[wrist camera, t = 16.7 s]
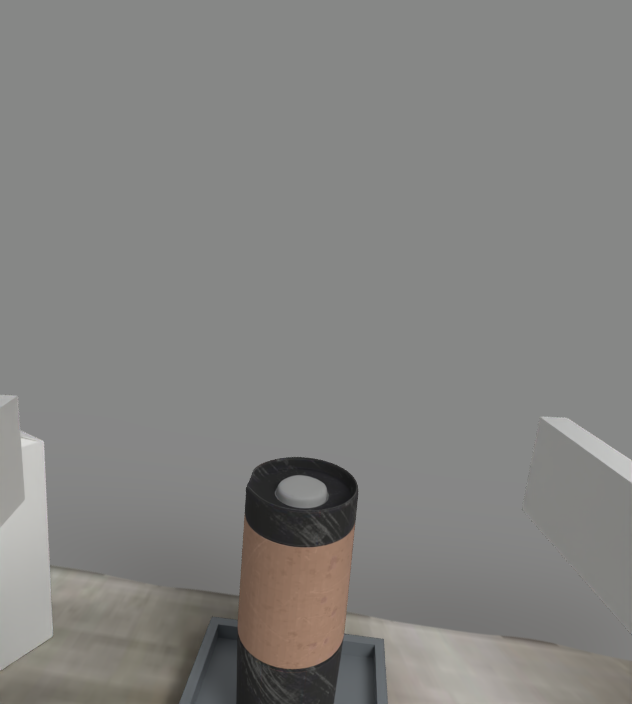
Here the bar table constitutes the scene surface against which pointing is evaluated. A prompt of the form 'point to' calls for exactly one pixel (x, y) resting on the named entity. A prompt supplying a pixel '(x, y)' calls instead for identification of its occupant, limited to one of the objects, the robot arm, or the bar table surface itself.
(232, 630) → the tray
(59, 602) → the bar table surface
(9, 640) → the milk
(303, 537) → the travel mug
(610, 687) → the bar table surface
